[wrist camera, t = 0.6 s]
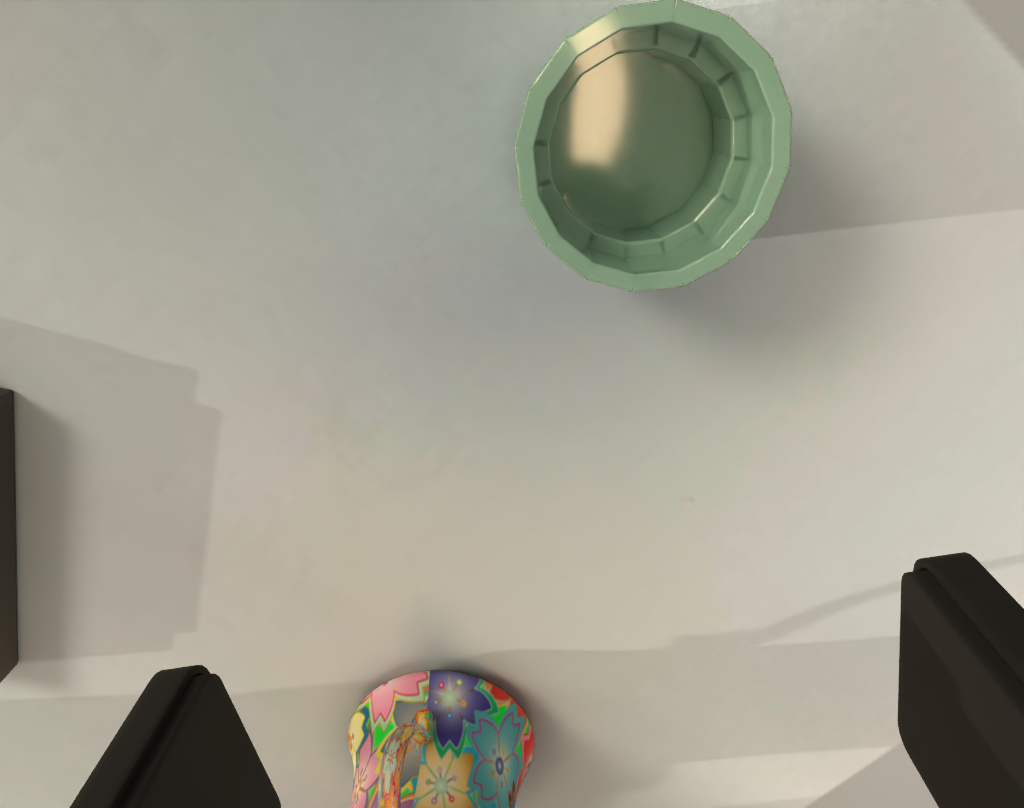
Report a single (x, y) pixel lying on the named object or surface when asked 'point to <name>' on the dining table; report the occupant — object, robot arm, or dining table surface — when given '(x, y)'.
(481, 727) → the mug
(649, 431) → the dining table surface
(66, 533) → the dining table surface
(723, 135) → the bowl
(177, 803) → the robot arm
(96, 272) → the dining table surface
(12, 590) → the scale
